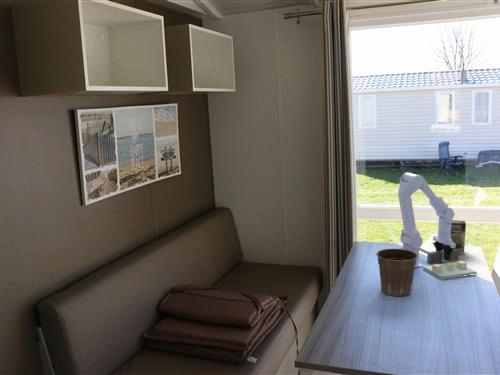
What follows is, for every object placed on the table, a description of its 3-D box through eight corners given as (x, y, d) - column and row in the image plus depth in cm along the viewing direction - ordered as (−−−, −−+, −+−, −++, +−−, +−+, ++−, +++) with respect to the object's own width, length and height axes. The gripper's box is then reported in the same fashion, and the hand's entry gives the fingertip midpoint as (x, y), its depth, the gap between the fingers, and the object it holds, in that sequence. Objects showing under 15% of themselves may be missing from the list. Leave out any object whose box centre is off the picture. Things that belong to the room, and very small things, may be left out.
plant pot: (371, 295, 212) (371, 257, 209) (380, 282, 226) (381, 246, 223) (411, 301, 204) (413, 262, 201) (419, 287, 218) (420, 251, 215)
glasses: (430, 263, 248) (430, 253, 247) (417, 257, 257) (417, 247, 257) (458, 260, 252) (459, 250, 251) (445, 253, 262) (445, 244, 261)
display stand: (441, 279, 227) (442, 271, 226) (422, 269, 240) (423, 261, 239) (476, 274, 232) (476, 266, 231) (455, 265, 245) (456, 257, 244)
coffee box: (445, 253, 262) (446, 222, 259) (444, 249, 268) (445, 219, 265) (464, 254, 260) (466, 223, 257) (463, 250, 266) (464, 220, 263)
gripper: (461, 234, 242) (460, 261, 245) (442, 226, 256) (440, 253, 259) (448, 235, 240) (447, 263, 243) (429, 228, 254) (428, 254, 257)
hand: (443, 258), depth 251 cm, fingers open, 5 cm apart
